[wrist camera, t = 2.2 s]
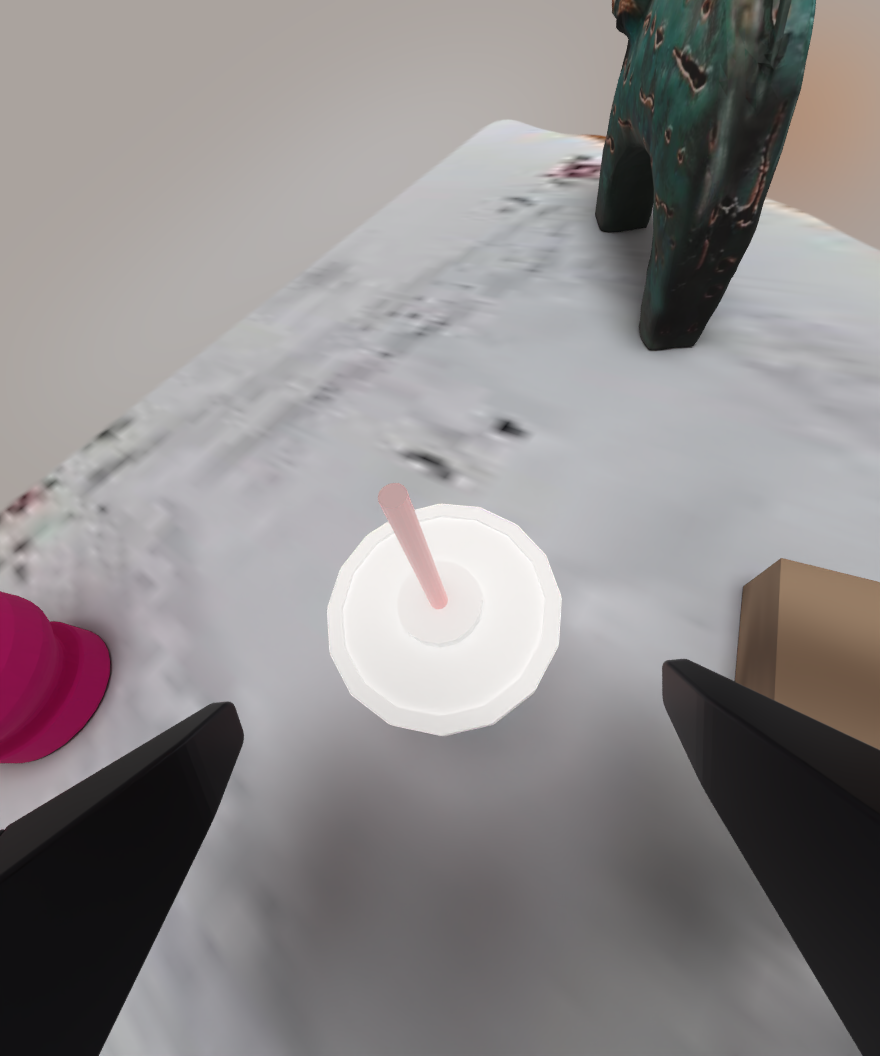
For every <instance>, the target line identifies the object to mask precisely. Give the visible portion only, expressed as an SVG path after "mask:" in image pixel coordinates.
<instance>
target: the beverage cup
mask: <svg viewBox="0 0 880 1056" xmlns="http://www.w3.org/2000/svg"><path fill="white" fill-rule="evenodd" d="M378 502H379V504H380V506H381V508H382V510H383V512H384V514H385V515H386V517H387V519H388V522H387V523H385V524H383V525H382V526H380V527H379V528H377V529H376V530H374V531H373V532H371V533H369V534H368V535H366V537H365V538H364V539H363V540H362V542H361V543H360V544H359V545H358V547H357V548H356V549H355V550H354V552H353V553H352V554H351V556H350V557H349V558H348V559H347V561H346V562H345V563H344V564H343V566H342V567H341V568H340V571H339V574H338V577H337V580H336V583H335V586H334V589H333V592H332V595H331V598H330V601H329V604H328V607H327V618H328V635H329V651H330V655H331V657H332V659H333V661H334V663H335V665H336V667H337V669H338V671H339V673H340V675H341V677H342V679H343V680H344V682H345V684H346V686H347V688H348V690H349V692H350V694H351V695H352V696H353V697H354V698H356V699H357V700H358V701H360V702H361V703H362V704H363V705H365V706H366V707H367V708H369V709H370V710H371V711H372V712H374V713H375V714H376V715H378V716H379V717H380V718H381V719H383V720H384V721H385V722H387V723H388V724H389V725H392V726H396V727H401V728H406V729H410V730H415V731H420V732H424V733H429V734H434V735H438V736H448V735H452V734H456V733H461V732H465V731H469V730H473V729H478V728H482V727H486V726H490V725H494V724H495V723H496V722H498V721H499V720H500V719H502V718H503V717H504V716H505V715H507V714H508V713H509V712H510V711H512V710H513V709H514V708H516V707H517V706H518V705H519V704H521V703H522V702H523V701H525V700H526V699H527V698H528V697H530V696H531V695H532V694H533V693H534V692H535V690H536V688H537V686H538V684H539V682H540V681H541V679H542V677H543V675H544V673H545V671H546V669H547V667H548V665H549V663H550V661H551V660H552V658H553V656H554V654H555V652H556V650H557V648H558V646H559V634H560V618H561V601H562V597H561V594H560V591H559V588H558V586H557V583H556V580H555V578H554V575H553V572H552V570H551V567H550V564H549V562H548V559H547V556H546V555H545V554H544V552H543V551H542V550H541V549H540V548H539V547H538V546H537V545H536V544H535V543H534V542H533V541H532V540H531V539H530V538H529V537H528V535H527V534H526V533H525V532H524V531H523V530H522V529H521V528H520V527H519V526H518V525H517V524H515V523H513V522H511V521H509V520H506V519H504V518H502V517H500V516H498V515H496V514H494V513H492V512H489V511H487V510H485V509H483V508H481V507H473V506H462V505H450V504H436V505H432V506H428V507H424V508H420V509H416V510H414V507H413V505H412V502H411V499H410V497H409V494H408V491H407V489H406V488H405V487H404V486H403V485H401V484H399V483H392V484H388V485H386V486H385V487H383V488H382V489H381V490H380V492H379V495H378Z"/></svg>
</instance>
